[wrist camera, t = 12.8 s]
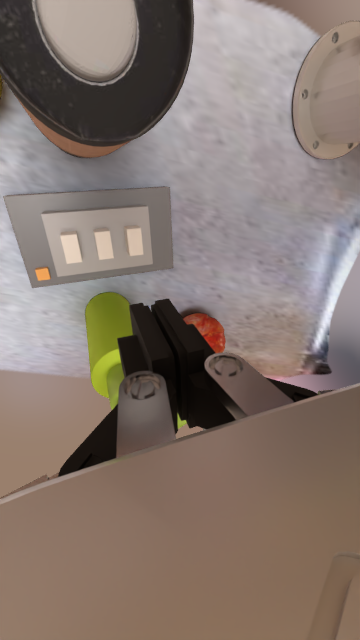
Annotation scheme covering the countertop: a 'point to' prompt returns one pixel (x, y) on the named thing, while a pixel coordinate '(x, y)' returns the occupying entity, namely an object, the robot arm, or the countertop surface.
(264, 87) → the countertop surface
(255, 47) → the countertop surface
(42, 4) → the travel mug
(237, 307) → the countertop surface
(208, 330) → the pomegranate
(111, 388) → the soap dispenser
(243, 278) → the countertop surface
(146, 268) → the breaker panel
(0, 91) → the lemon
